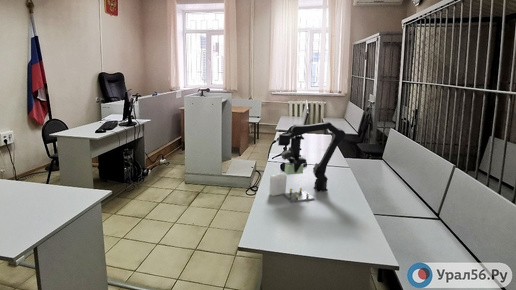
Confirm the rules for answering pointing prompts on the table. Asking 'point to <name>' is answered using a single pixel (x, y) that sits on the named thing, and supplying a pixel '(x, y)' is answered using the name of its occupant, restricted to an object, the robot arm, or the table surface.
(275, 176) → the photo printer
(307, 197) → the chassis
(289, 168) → the block
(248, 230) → the table surface
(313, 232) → the table surface
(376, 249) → the table surface
